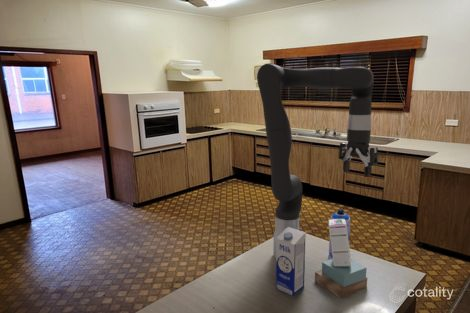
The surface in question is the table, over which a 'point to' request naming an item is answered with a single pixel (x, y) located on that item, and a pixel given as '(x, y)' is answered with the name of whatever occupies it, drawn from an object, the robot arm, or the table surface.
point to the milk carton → (290, 261)
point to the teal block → (344, 272)
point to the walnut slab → (336, 287)
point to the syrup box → (339, 242)
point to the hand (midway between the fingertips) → (356, 174)
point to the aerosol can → (342, 215)
